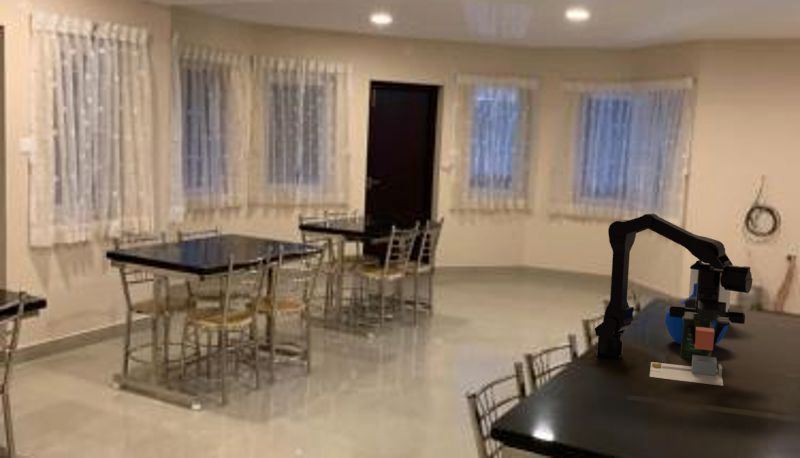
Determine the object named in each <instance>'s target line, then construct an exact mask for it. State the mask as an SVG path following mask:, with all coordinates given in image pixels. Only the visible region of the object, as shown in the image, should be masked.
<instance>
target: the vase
mask: <svg viewBox="0 0 800 458" xmlns="http://www.w3.org/2000/svg"><path fill="white" fill-rule="evenodd" d="M696 291H697V283H695V284H694V289H693V294H692V295H691V296H690V297H689V296H688V297H687V298H686V299H683V300H682V301H681V302H679V303H678V304H685V301H686V300H687V299H690V298H692V297H695V296H696ZM664 316H665V317H664V318H665V319H664V322H665V325H666V329H667V331H668V334H669V335H670V337H671V338H672V340H673V341H674V342H675V343H677V344H678V345H679V344H680V345H679V346H681V343H682V333H683V322H684V321H683V320H682V318H678V317H670V316H669V309H668V310H667V311H666V313H665V315H664ZM716 322H717V320H716V321H714V325H713V328H714V332H715V327H716ZM728 328H729V325H726V326H725V327H724V328H723V329H722V331H721V333H720V335H719V337H718V339H717V341H716V343H715V346H716V345H718V344H719V342H721V340H723V338H724V337H725V334H726V332H727V330H728Z"/></svg>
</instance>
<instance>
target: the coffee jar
mask: <svg viewBox="0 0 800 458" xmlns="http://www.w3.org/2000/svg"><path fill="white" fill-rule="evenodd" d="M686 299H687V298H686ZM686 299H685V300H686ZM695 304H696V296H695V297H692V298H690V299H687V300H686V301H685V308H694V309H695ZM694 325H695V331H696V327H704V328H713V325H714V321H711V320H706V319H704V320H700V319H698V318H697V316H695V315H694ZM712 353H713V352H712V350H703V349H695V345H694V344H693V340H692V336H691V332H690V328H689V326H688V324H687V322H686V321H684V322H683V333H682V343H681V345H680V353H679V354H680V355H679V356H680V357H679V358H680V359H681V360H689V361H692V355H699V356H708V357H712Z"/></svg>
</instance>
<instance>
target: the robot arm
mask: <svg viewBox="0 0 800 458" xmlns="http://www.w3.org/2000/svg"><path fill="white" fill-rule="evenodd" d="M646 230H651V231H652V232H654V233H656V234H658V235H660V236H662V237H664V238H666V239H668V240H669V241H672V242H674V243H676V244H678V245H680V247H681V246H682V247H683V248H684V249H686V250H687V251H688V252H689V253H690V254H691V255H692V256H693V257H695V258H696V259H697V260H696V262H694V263H695V264H694V265H692V266H691V265H690V267H689V269H690V270H691V269H695V270H698V279H697V291H696V304H695V309H694V308H685V304H679V303H674V302H672V303H670V304H669V308H668V310H669V316H670V317H678V318H682V320H683V321H686V322H687V324H688V326H689V328H690V332H691V336H692V340H693V344H695V325H694V315H695V316H697V318H698V319H700V320H704V319H706V320H711V321H716V320H717V322H716V327H715V332H714V343H713V347H715V346H716V345H715V343H716V341H717V339H718V337H719V335H720V333H721V331H722V329H723V328H724V327H725V326H726V325H728V326H730V325H731V324H739V325H740V324H741V325H744V324H745V323H746V322H745V321H746V314H745V311H743V309H740V308H739V309H737V308H730V307H729V308H728V312H726V302H719V292H720V283H721V285H722V287H724V289H725V290H729V291H731V292H737V293H744V294H749V293H750V291H751V289H752V286H753V277H752V272H751V266H745V265H744V266H739V265H733V263H732V261H731V260H730V258H729V256H728V254H727V253H726V248H725V245H724V243H723V242H721V241H720V240H717V239H714V238H710V237H708V236H707V237H706V236H703V235H702V236H701V235H698V234H695V233H693V232H690V231H689V230H686V229H684V228H682V227H680V226H679V225H677V224H675V223H672V222H670V221H669V220H667V219H664V218H662V217H660V216H659V215H658V214H656V213H653V212H652V213H645V214H643V215H641V216H638V217H635V218H632V219H622V220H616V221H613V222H612V223H610V225H608V231H607V232H608V234H607V235H608V242H609V245H610V247H611V250H612V262H611V263H612V266H611V278H610V279H611V280H610V294H609V295H610V297H609V298H610V299H609V301H608V304H607V306H606V309H605V311H604V314H603V319H602V322H600V324H598V325H597V326H595V328H594V333H595V336H596V337H597V352H596V354H595V356H596V357H599V358H608V359H616V360H620V358H621V356H623V348H624V347H623V346H624V340H623V339H622V334H624V333H625V331H626V330H627V329H628V328H629V327H630V326H631V324H632V322H634V321H635V320H634V315H633V314H634V310H635V309H634V306H630V305H629V303H628V289H629V269H630V268H629V267H630V254H631V250H632V248H633V245H634V243H635V240H636V236H637V233H641V232H644V231H646ZM703 263H709V264H703ZM720 279H721V280H720Z"/></svg>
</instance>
